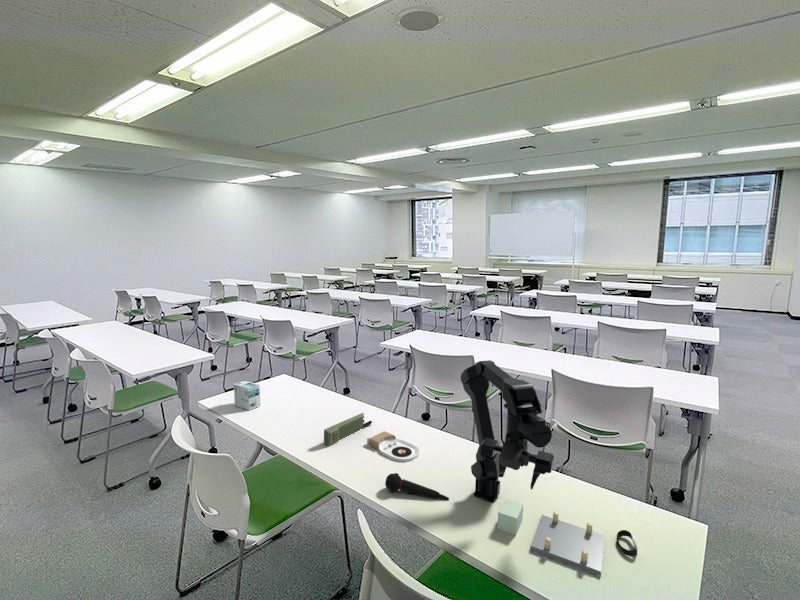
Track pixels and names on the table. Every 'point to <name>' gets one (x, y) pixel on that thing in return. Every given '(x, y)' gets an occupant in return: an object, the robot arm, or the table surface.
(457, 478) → the table surface
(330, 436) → the handheld radio
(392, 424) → the table surface
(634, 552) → the watch
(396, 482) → the microphone
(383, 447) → the record player
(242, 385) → the light bulb box
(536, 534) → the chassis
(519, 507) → the board block
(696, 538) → the table surface
